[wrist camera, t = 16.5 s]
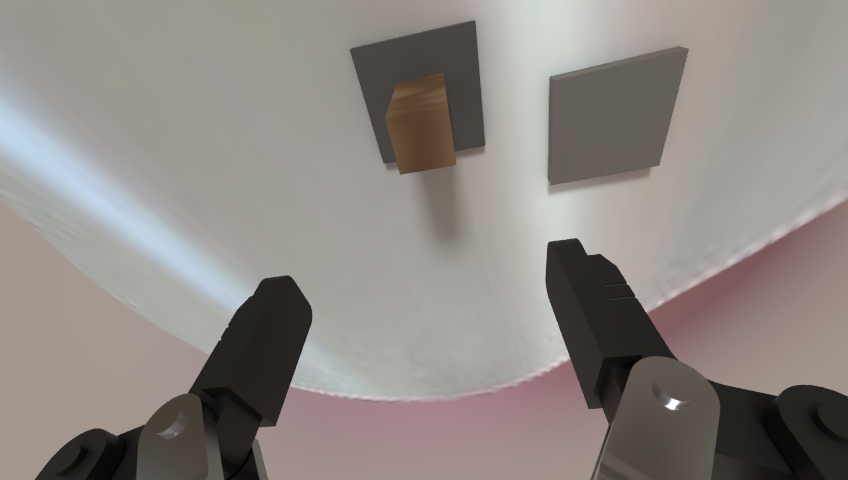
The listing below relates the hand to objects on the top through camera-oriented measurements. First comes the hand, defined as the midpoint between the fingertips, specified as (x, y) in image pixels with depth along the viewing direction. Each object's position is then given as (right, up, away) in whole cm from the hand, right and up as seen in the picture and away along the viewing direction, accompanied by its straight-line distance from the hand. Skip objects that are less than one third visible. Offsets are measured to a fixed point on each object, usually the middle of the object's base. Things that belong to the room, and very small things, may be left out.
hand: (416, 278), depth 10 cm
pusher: (0, +12, +15) cm, 19 cm away
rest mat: (0, +12, +16) cm, 20 cm away
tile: (+14, +14, +13) cm, 24 cm away
